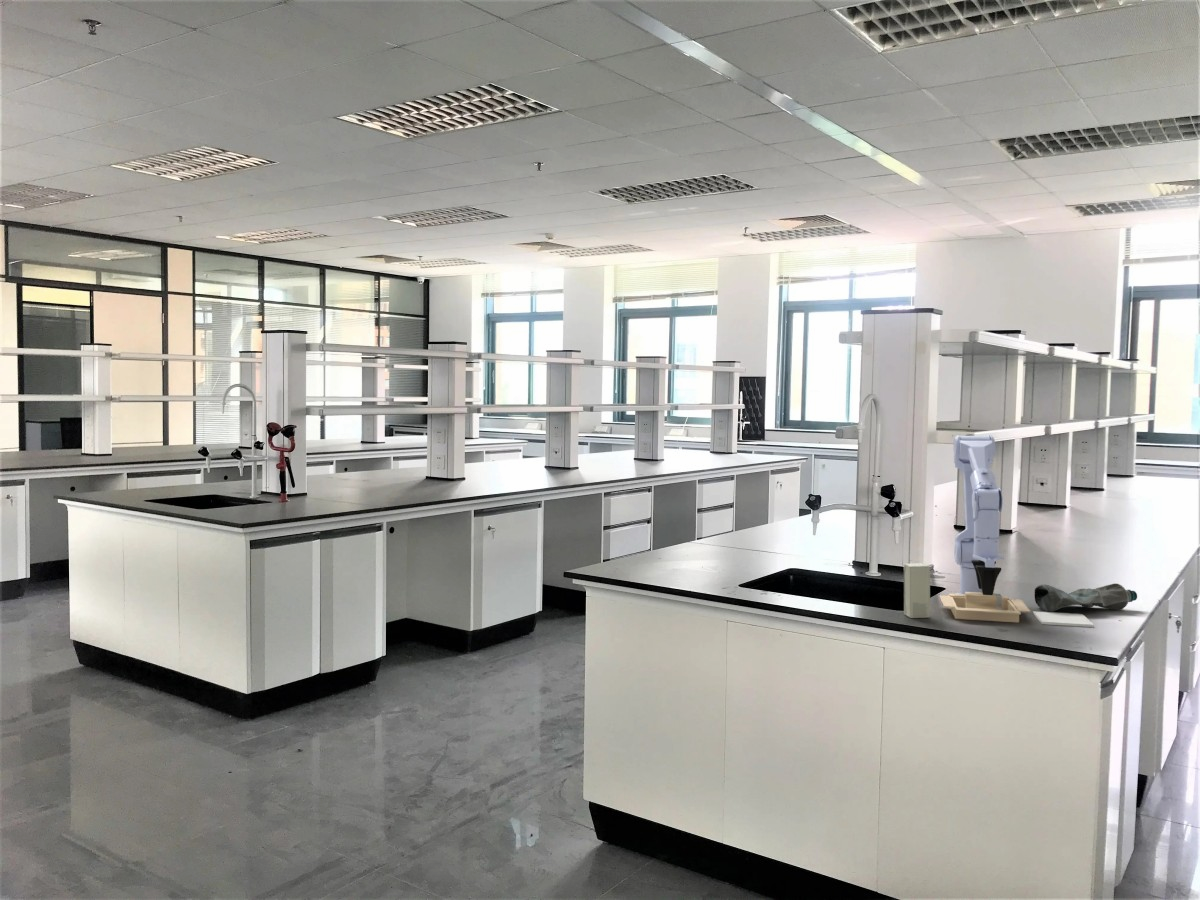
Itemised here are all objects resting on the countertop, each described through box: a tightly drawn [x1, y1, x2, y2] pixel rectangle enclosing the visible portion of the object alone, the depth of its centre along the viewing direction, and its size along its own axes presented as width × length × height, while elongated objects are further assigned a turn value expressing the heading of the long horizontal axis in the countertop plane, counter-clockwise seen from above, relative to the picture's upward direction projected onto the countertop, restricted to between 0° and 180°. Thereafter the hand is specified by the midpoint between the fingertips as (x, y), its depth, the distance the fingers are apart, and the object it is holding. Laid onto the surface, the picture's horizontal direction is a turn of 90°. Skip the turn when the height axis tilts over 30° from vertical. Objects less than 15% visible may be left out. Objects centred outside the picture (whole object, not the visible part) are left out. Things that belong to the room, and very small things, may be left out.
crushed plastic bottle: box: [1034, 583, 1138, 612], centre depth 224 cm, size 13×7×25 cm
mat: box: [1032, 610, 1095, 628], centre depth 214 cm, size 11×11×1 cm
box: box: [903, 562, 931, 619], centre depth 218 cm, size 5×4×13 cm
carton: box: [939, 593, 1031, 623], centre depth 220 cm, size 19×19×3 cm
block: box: [964, 592, 1002, 610], centre depth 220 cm, size 4×8×5 cm, turn 74°
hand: (985, 591), depth 220 cm, fingers open, 7 cm apart
